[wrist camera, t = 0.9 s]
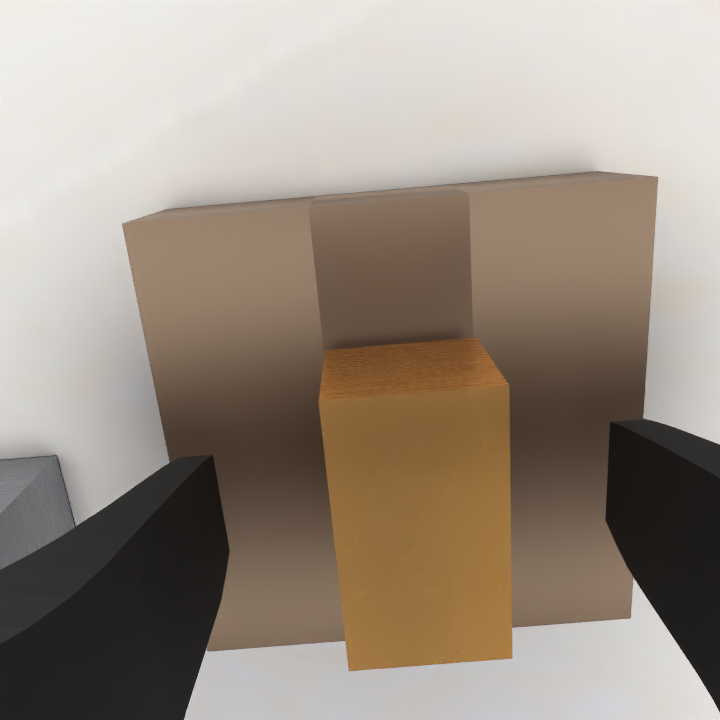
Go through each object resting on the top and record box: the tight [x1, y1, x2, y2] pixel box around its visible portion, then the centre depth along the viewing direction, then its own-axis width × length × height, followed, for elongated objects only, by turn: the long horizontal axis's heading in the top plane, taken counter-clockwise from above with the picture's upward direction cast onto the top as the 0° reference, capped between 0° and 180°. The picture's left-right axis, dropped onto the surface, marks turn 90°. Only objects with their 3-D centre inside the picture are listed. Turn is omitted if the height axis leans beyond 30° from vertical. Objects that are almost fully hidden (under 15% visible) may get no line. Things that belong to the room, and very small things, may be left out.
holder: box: [122, 171, 658, 651], centre depth 15 cm, size 10×10×3 cm
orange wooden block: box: [319, 337, 512, 671], centre depth 13 cm, size 5×3×6 cm, turn 5°
